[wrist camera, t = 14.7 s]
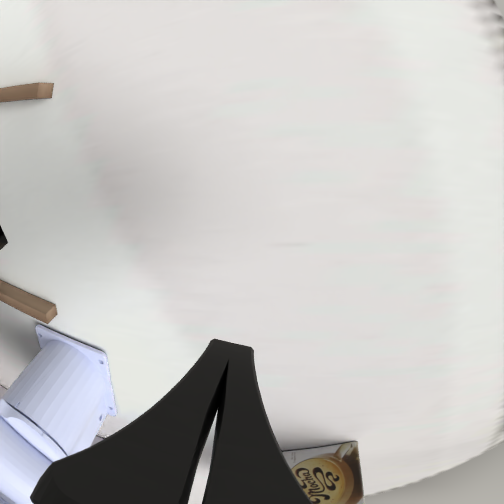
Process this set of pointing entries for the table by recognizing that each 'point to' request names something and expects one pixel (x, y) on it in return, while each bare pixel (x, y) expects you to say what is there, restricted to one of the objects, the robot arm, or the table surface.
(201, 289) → the table surface
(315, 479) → the coffee box
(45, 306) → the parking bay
